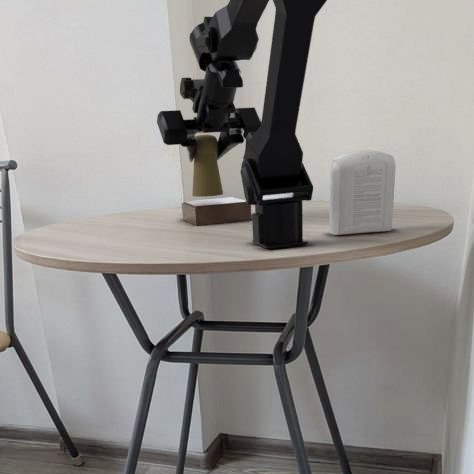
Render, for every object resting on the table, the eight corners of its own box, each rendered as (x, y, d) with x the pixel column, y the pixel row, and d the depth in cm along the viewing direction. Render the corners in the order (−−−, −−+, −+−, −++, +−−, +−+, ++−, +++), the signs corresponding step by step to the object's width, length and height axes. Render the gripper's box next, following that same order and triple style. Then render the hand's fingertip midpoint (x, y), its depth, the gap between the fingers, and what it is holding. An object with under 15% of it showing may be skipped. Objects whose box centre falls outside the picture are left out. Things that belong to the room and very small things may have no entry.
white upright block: (384, 227, 96) (387, 148, 92) (396, 231, 92) (400, 149, 88) (325, 233, 94) (325, 152, 90) (335, 237, 90) (336, 152, 86)
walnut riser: (234, 214, 120) (233, 196, 119) (251, 220, 111) (250, 201, 110) (182, 219, 117) (181, 201, 116) (196, 225, 108) (194, 206, 107)
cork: (186, 195, 114) (181, 136, 111) (213, 192, 117) (209, 134, 114) (202, 197, 110) (197, 135, 106) (229, 194, 113) (225, 133, 109)
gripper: (254, 59, 105) (236, 126, 119) (153, 60, 99) (146, 131, 112) (274, 103, 101) (252, 168, 114) (170, 107, 95) (160, 175, 108)
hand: (203, 159), depth 112 cm, fingers closed on cork, 5 cm apart
